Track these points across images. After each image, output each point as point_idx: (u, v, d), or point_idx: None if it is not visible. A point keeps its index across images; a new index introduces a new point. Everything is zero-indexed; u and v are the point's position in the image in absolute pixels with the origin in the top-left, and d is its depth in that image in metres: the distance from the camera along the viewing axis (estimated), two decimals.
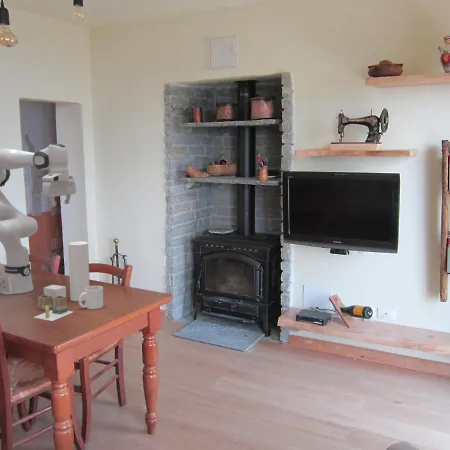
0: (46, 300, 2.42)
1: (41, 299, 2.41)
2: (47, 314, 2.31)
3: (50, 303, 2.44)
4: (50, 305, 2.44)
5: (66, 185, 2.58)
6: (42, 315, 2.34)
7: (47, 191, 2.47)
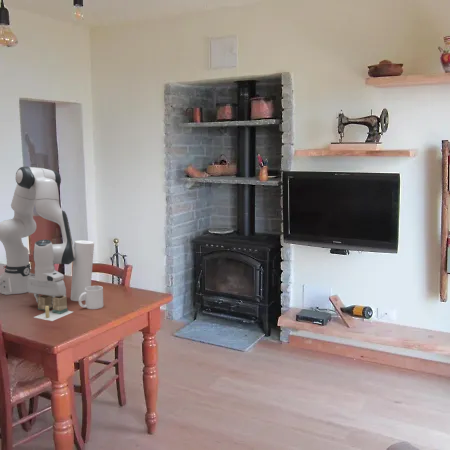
0: (46, 300, 2.42)
1: (41, 299, 2.41)
2: (47, 314, 2.31)
3: (50, 303, 2.44)
4: (50, 305, 2.44)
5: None
6: (42, 315, 2.34)
7: (64, 289, 2.40)
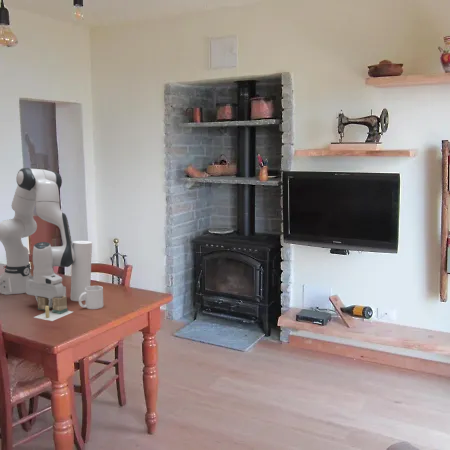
0: (46, 300, 2.42)
1: (41, 299, 2.41)
2: (47, 314, 2.31)
3: None
4: None
5: None
6: (42, 315, 2.34)
7: (62, 292, 2.40)
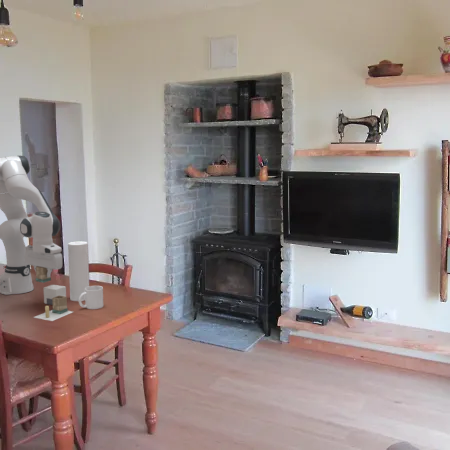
0: (45, 270, 2.40)
1: (40, 269, 2.39)
2: (47, 314, 2.31)
3: None
4: None
5: None
6: (42, 315, 2.34)
7: (61, 262, 2.38)
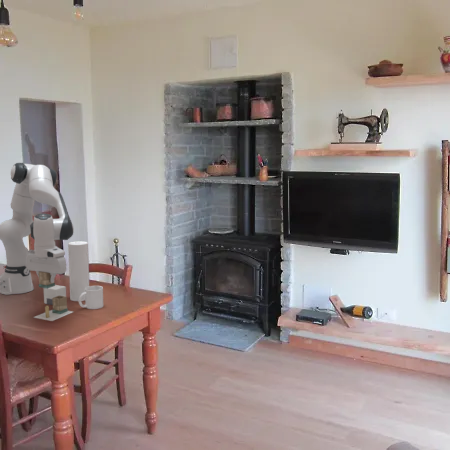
0: (48, 275, 2.27)
1: (42, 274, 2.27)
2: (47, 314, 2.31)
3: None
4: None
5: None
6: (42, 315, 2.34)
7: (65, 266, 2.26)
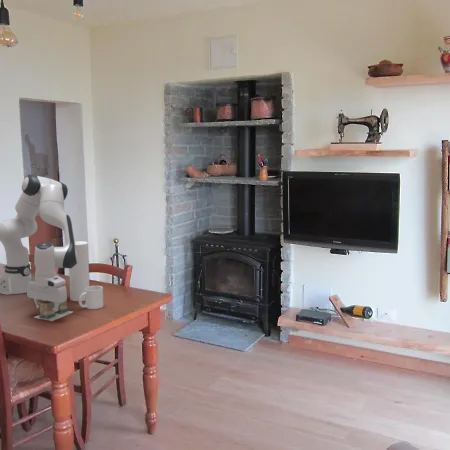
0: (48, 306, 2.29)
1: (43, 305, 2.29)
2: None
3: None
4: (53, 311, 2.32)
5: None
6: None
7: (66, 295, 2.28)
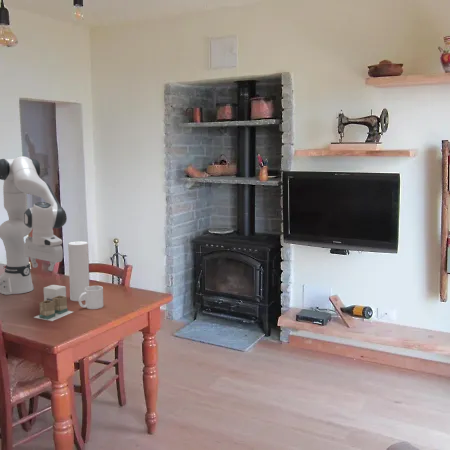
0: (48, 306, 2.29)
1: (43, 305, 2.29)
2: None
3: (53, 309, 2.32)
4: (53, 311, 2.32)
5: None
6: None
7: (61, 255, 2.29)
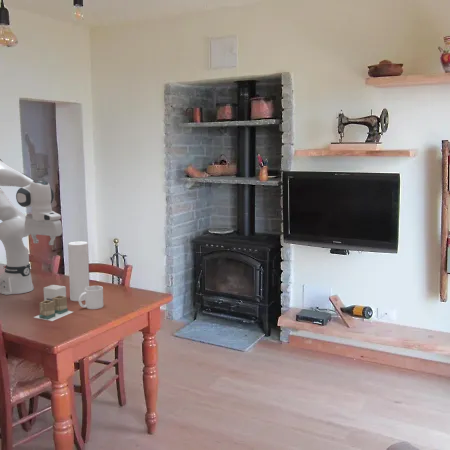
0: (48, 306, 2.29)
1: (43, 305, 2.29)
2: None
3: (53, 309, 2.32)
4: (53, 311, 2.32)
5: None
6: None
7: (61, 229, 2.40)
